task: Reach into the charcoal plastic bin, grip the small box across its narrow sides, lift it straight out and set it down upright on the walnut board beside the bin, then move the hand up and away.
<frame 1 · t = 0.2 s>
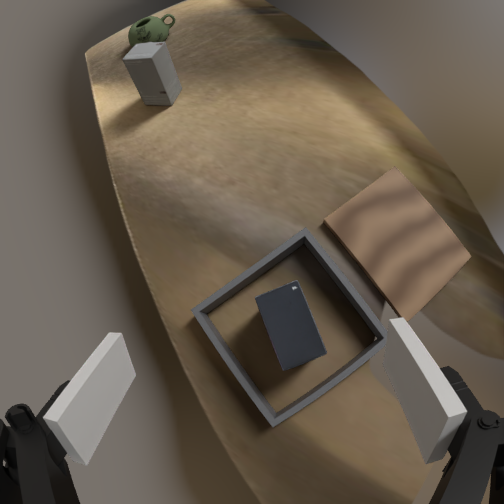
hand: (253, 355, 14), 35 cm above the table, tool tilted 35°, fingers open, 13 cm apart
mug: (156, 40, 77), on the table
skincare box: (165, 96, 67), on the table
bin: (291, 328, 48), on the table
small box: (291, 328, 48), resting in bin
walnut board: (401, 240, 49), on the table
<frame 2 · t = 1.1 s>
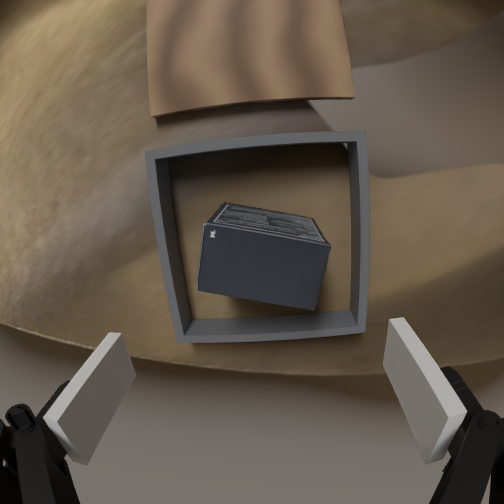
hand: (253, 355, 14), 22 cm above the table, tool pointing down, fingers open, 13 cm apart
bin: (263, 237, 35), on the table
small box: (264, 236, 35), resting in bin
walnut board: (244, 32, 28), on the table
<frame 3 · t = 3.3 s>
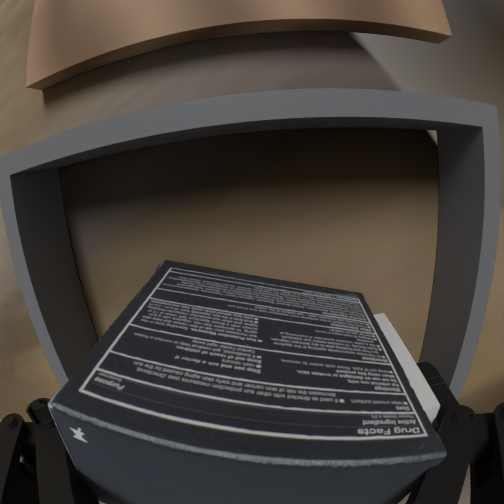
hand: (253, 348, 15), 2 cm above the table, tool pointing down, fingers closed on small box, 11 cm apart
bin: (255, 330, 16), on the table
small box: (254, 328, 16), resting in bin, touching gripper
when the fingers open (5 cm above the table, at t = 10.8 s): small box drops 1 cm, resting on walnut board.
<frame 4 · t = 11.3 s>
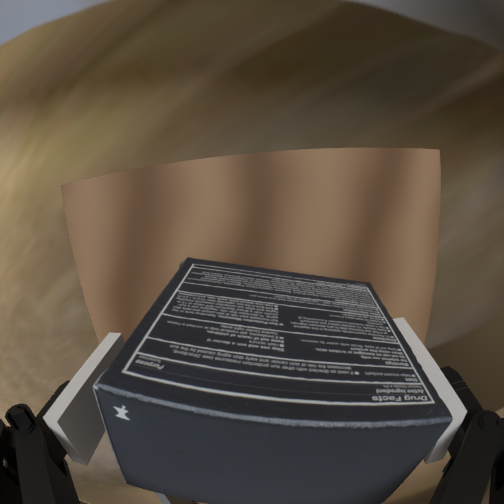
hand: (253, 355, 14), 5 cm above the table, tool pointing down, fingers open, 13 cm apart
small box: (272, 318, 18), point 1 cm above the table, touching gripper, walnut board
walnut board: (256, 305, 19), on the table
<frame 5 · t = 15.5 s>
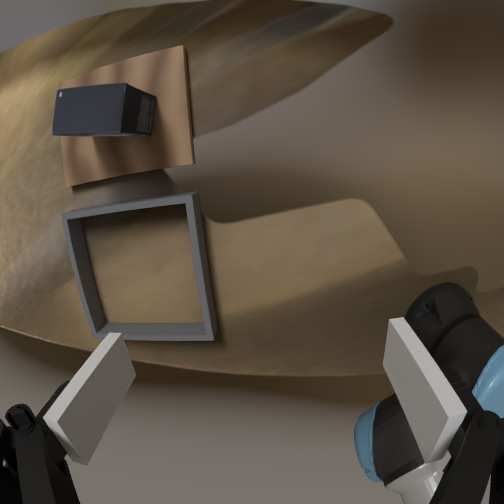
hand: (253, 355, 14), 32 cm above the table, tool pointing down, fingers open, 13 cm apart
bin: (142, 268, 48), on the table
small box: (122, 116, 39), point 1 cm above the table, touching walnut board
walnut board: (121, 117, 41), on the table
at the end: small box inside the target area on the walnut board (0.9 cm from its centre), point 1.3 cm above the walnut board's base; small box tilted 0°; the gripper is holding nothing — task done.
